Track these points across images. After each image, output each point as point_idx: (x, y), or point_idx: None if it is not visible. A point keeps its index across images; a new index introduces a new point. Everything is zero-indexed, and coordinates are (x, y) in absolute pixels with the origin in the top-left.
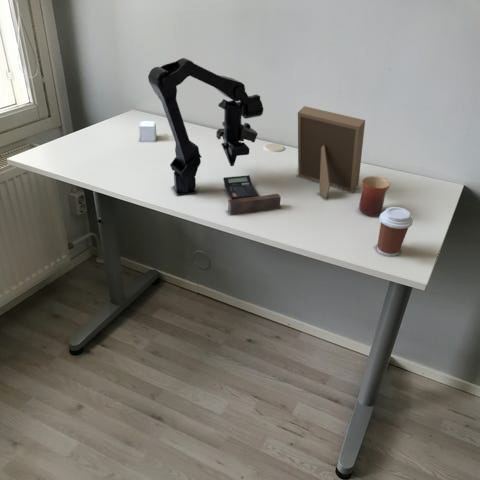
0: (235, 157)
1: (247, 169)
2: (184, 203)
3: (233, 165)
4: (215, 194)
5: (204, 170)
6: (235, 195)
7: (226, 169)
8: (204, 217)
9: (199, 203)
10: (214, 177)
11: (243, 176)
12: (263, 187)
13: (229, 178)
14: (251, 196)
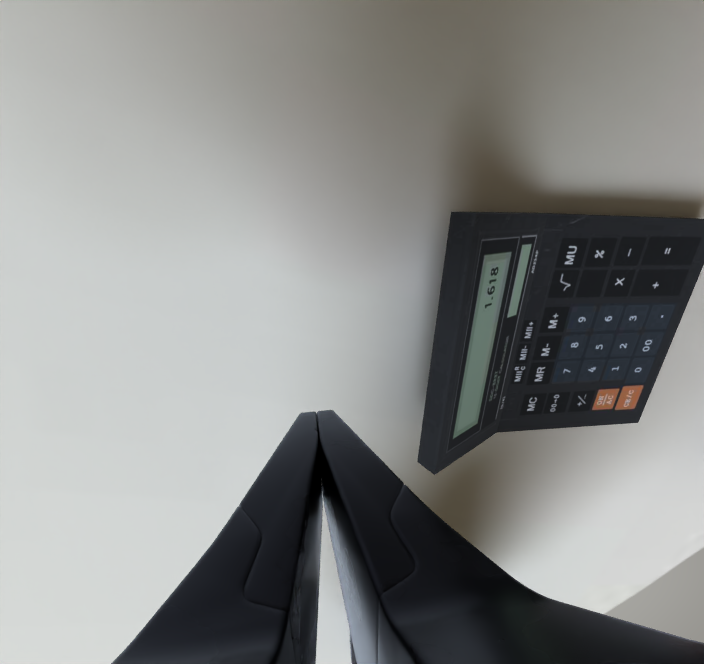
0: (412, 508)
1: (50, 90)
2: None
3: (334, 415)
4: (510, 485)
5: (95, 516)
6: (627, 395)
7: (63, 345)
8: (691, 546)
9: (565, 559)
10: (248, 464)
11: (470, 291)
12: (570, 85)
13: (451, 426)
14: (687, 281)
